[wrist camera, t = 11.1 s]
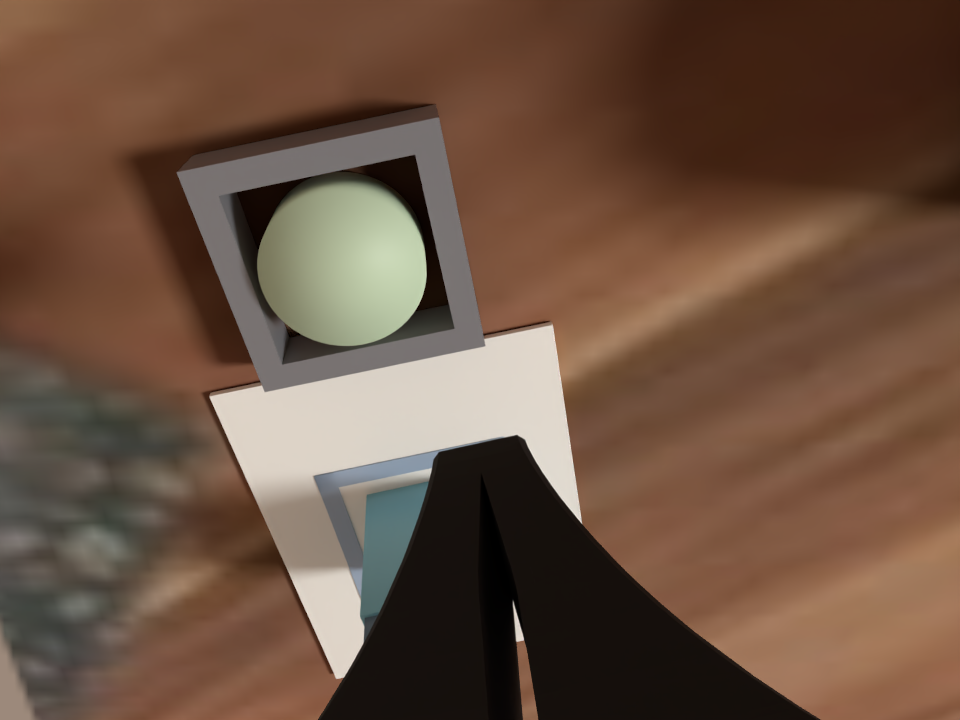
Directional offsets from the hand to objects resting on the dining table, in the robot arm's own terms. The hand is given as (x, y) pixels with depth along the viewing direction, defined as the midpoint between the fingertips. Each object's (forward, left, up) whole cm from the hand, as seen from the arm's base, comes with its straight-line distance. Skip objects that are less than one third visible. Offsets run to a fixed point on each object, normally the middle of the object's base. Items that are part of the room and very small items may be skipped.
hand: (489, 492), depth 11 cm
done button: (+1, +3, -9) cm, 10 cm away
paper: (-9, +3, -10) cm, 13 cm away
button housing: (+1, +3, -10) cm, 10 cm away
